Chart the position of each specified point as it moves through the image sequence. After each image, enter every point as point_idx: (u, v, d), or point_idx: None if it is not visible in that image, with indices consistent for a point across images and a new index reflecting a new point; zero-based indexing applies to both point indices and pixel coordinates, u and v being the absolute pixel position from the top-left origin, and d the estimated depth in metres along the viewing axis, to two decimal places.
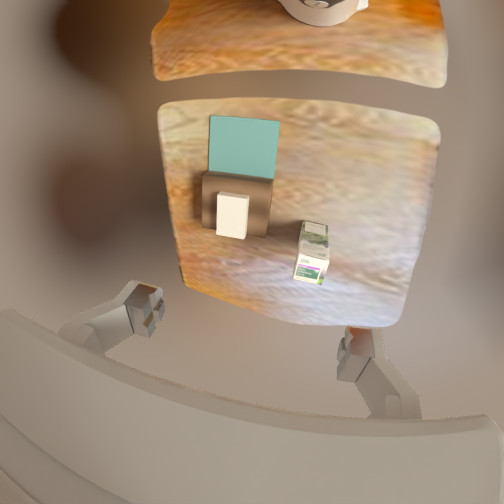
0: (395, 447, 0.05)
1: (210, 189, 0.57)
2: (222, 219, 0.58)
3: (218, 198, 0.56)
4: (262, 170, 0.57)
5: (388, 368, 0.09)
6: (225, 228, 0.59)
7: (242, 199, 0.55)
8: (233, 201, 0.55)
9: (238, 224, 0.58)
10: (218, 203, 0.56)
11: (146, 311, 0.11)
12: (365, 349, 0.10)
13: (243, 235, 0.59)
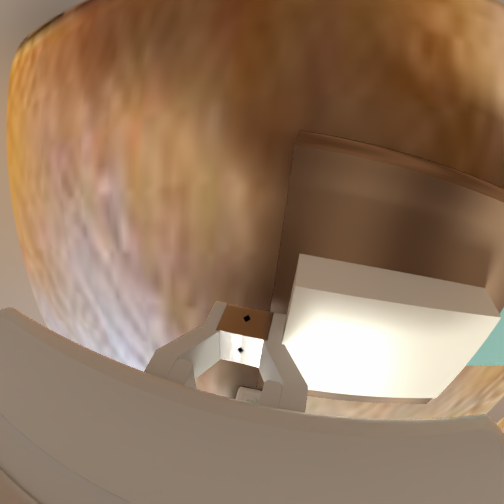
0: (395, 447, 0.05)
1: (496, 245, 0.08)
2: (386, 327, 0.09)
3: (487, 320, 0.08)
4: None
5: (278, 354, 0.09)
6: (333, 334, 0.10)
7: (441, 388, 0.11)
8: (449, 368, 0.10)
9: (346, 377, 0.11)
10: (469, 319, 0.08)
11: None
12: (259, 332, 0.10)
13: None
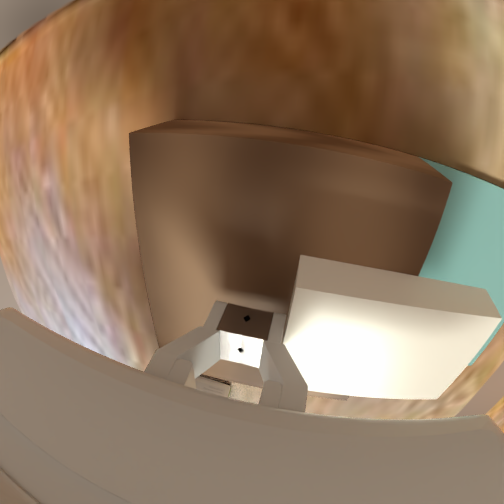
0: (395, 447, 0.05)
1: (369, 211, 0.09)
2: (387, 328, 0.09)
3: (488, 321, 0.08)
4: None
5: (279, 353, 0.09)
6: (333, 336, 0.10)
7: (441, 390, 0.11)
8: (449, 369, 0.10)
9: (347, 378, 0.11)
10: (470, 320, 0.08)
11: None
12: (259, 332, 0.10)
13: None
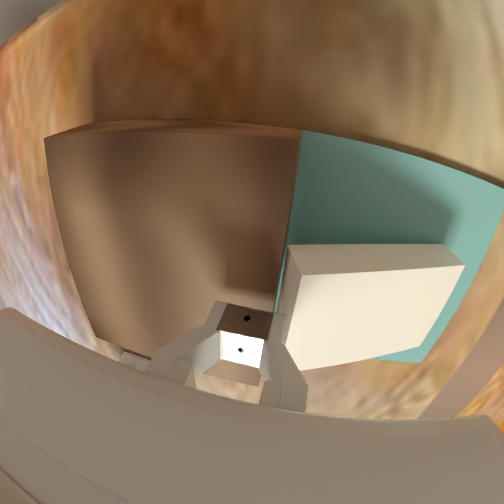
0: (395, 447, 0.05)
1: (211, 184, 0.10)
2: (378, 293, 0.11)
3: (455, 270, 0.11)
4: None
5: (279, 354, 0.09)
6: (334, 312, 0.11)
7: (423, 336, 0.14)
8: (428, 317, 0.13)
9: (345, 347, 0.13)
10: (441, 271, 0.11)
11: None
12: (259, 332, 0.10)
13: None
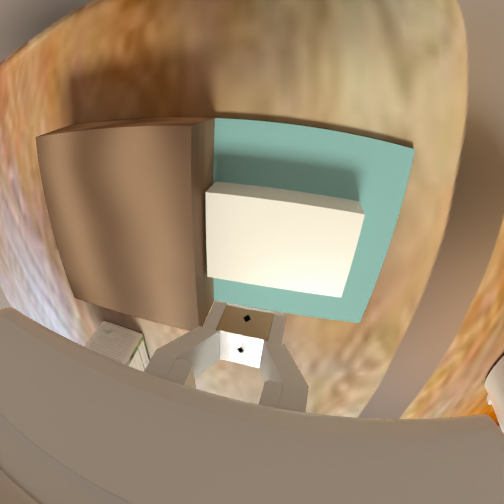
0: (395, 447, 0.05)
1: (141, 159, 0.14)
2: (267, 218, 0.16)
3: (351, 216, 0.15)
4: None
5: (279, 354, 0.09)
6: (234, 226, 0.17)
7: (340, 286, 0.18)
8: (336, 262, 0.17)
9: (255, 267, 0.18)
10: (332, 213, 0.15)
11: None
12: (259, 332, 0.10)
13: (219, 276, 0.19)
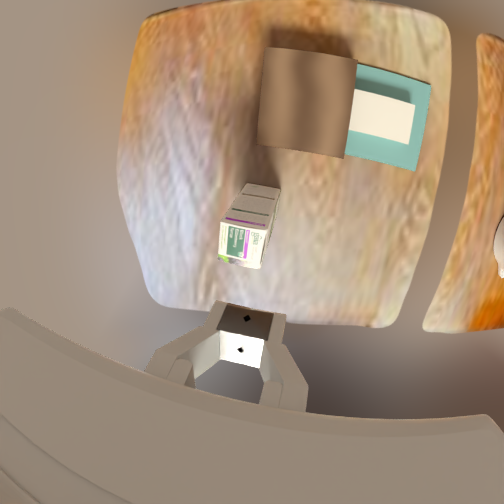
0: (395, 447, 0.05)
1: (334, 68, 0.29)
2: (378, 102, 0.32)
3: (410, 105, 0.31)
4: (353, 139, 0.37)
5: (279, 354, 0.09)
6: (365, 104, 0.32)
7: (408, 138, 0.33)
8: (405, 125, 0.32)
9: (372, 125, 0.34)
10: (403, 103, 0.31)
11: None
12: (259, 332, 0.10)
13: (354, 129, 0.35)
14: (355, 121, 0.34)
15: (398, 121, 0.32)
